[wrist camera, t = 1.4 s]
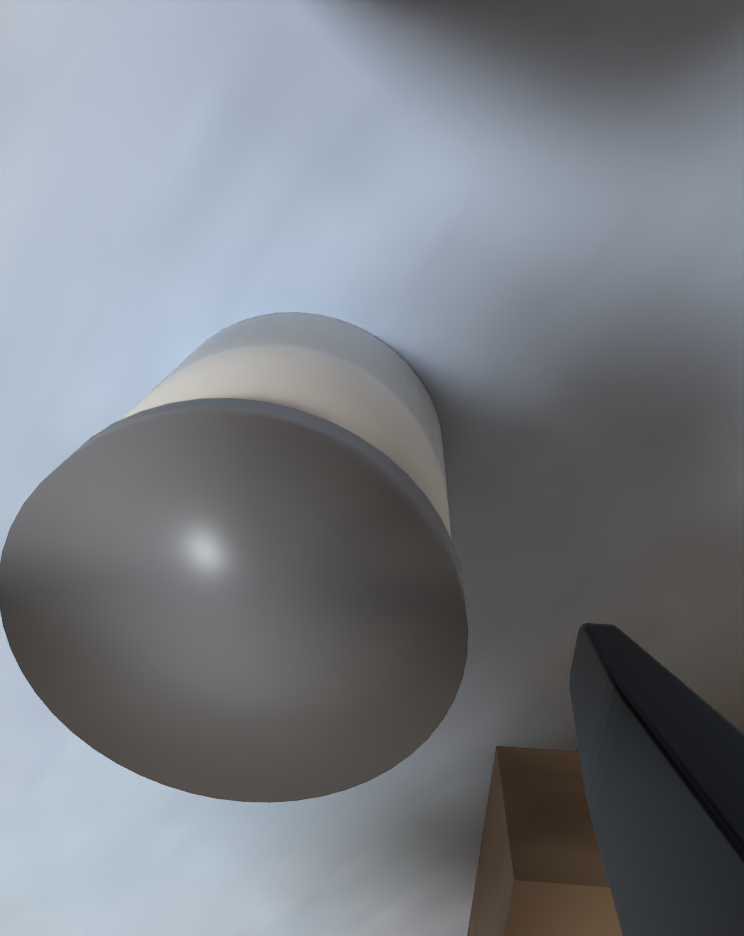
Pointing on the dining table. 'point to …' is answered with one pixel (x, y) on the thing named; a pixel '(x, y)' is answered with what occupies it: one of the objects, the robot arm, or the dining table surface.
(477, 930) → the walnut block
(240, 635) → the ceramic jar
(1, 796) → the dining table surface
